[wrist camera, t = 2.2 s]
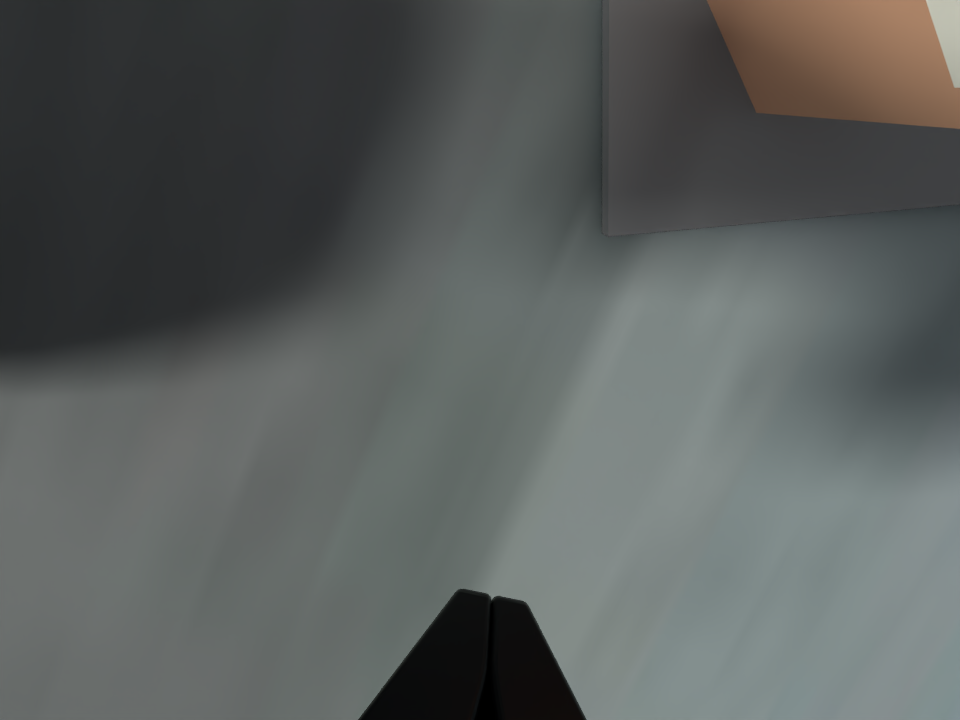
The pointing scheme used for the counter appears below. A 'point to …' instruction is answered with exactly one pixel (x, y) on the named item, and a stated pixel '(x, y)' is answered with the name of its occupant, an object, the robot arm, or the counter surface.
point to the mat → (738, 138)
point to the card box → (848, 58)
